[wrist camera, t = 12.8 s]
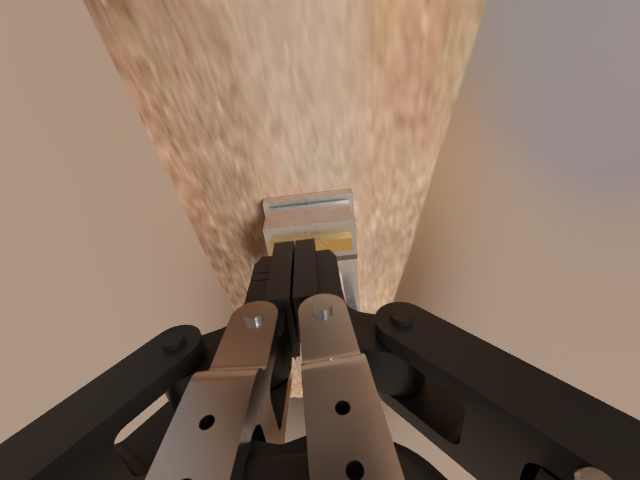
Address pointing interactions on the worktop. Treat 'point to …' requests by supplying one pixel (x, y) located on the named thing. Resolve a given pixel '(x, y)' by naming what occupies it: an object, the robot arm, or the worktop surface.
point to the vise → (345, 266)
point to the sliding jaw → (314, 227)
